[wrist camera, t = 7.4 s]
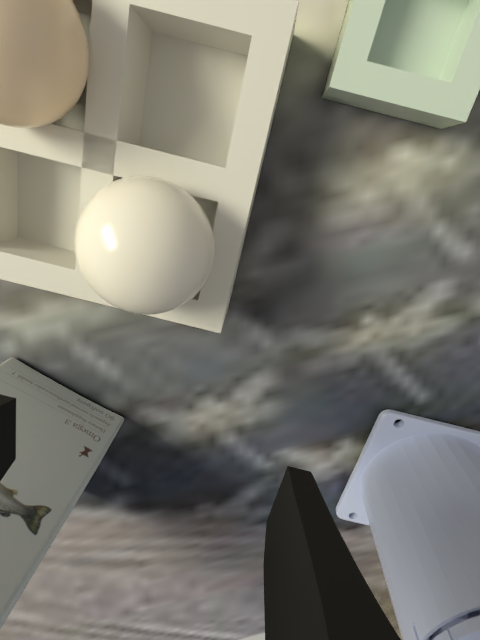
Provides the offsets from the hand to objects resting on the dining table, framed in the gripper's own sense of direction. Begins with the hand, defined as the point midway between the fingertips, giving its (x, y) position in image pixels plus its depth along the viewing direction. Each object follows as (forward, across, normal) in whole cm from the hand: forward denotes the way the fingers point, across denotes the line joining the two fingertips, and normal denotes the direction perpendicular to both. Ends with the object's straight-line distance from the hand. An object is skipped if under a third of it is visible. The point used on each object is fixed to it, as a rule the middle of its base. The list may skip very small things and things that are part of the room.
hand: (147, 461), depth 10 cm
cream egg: (+6, +2, -4) cm, 7 cm away
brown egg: (+6, +8, -9) cm, 13 cm away
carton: (+10, +5, -7) cm, 13 cm away
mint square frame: (+10, -5, -13) cm, 17 cm away
